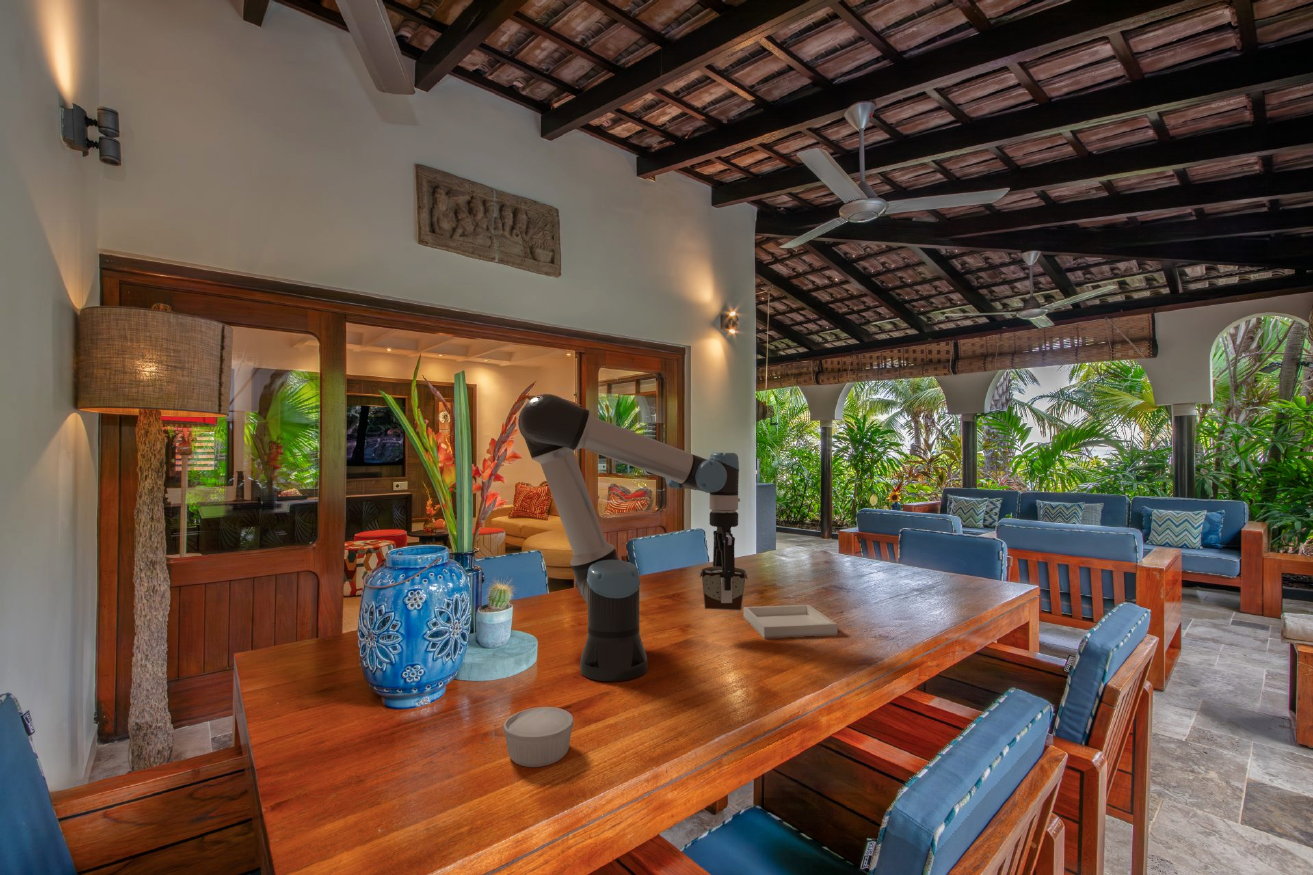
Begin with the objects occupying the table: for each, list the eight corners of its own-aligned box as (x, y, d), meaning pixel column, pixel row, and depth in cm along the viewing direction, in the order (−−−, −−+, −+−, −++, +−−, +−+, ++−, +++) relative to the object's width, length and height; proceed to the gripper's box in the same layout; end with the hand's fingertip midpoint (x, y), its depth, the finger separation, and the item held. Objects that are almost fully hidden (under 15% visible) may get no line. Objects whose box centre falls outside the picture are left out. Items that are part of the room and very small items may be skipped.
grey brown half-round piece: (745, 604, 156) (746, 567, 156) (747, 610, 150) (747, 571, 150) (699, 602, 157) (700, 565, 158) (699, 608, 151) (699, 569, 152)
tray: (837, 635, 155) (837, 623, 155) (764, 638, 153) (764, 627, 153) (808, 614, 175) (808, 604, 175) (743, 617, 172) (743, 607, 173)
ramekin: (510, 737, 101) (510, 706, 101) (575, 735, 101) (575, 704, 101) (497, 773, 89) (497, 738, 90) (570, 770, 90) (570, 735, 90)
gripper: (748, 514, 145) (747, 608, 144) (728, 507, 164) (727, 590, 164) (718, 514, 144) (717, 609, 143) (702, 507, 163) (701, 590, 163)
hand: (723, 598), depth 154 cm, fingers closed on grey brown half-round piece, 7 cm apart
